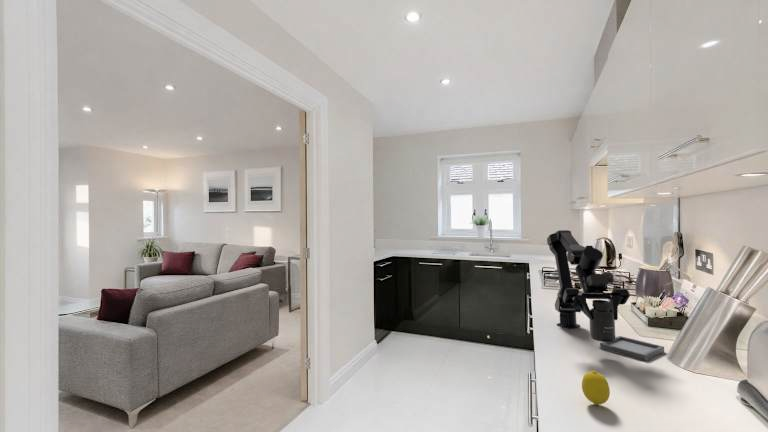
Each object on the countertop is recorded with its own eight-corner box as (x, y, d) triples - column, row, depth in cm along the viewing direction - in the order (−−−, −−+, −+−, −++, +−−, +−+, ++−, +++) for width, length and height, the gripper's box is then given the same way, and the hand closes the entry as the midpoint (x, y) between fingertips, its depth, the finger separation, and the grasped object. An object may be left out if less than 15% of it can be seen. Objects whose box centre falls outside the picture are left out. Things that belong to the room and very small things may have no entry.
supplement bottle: (611, 344, 101) (609, 304, 101) (586, 338, 106) (585, 301, 106) (618, 338, 105) (616, 301, 106) (594, 333, 110) (592, 297, 111)
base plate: (620, 340, 119) (619, 335, 119) (664, 352, 107) (664, 346, 107) (600, 348, 112) (599, 343, 112) (645, 361, 101) (644, 355, 101)
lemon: (599, 398, 81) (597, 365, 81) (616, 411, 75) (614, 375, 75) (577, 399, 80) (575, 366, 81) (592, 412, 75) (590, 376, 75)
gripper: (563, 264, 112) (577, 305, 101) (625, 264, 108) (646, 306, 97) (557, 283, 119) (569, 323, 108) (615, 283, 116) (634, 325, 105)
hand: (603, 319), depth 104 cm, fingers closed on supplement bottle, 7 cm apart
